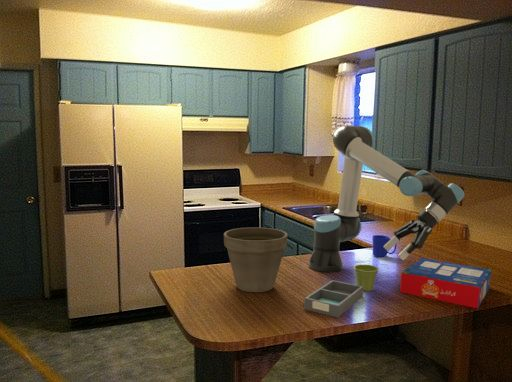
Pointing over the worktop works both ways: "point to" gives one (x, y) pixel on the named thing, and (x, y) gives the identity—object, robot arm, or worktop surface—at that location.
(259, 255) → the plant pot
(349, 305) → the tray
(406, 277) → the pasta box
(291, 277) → the worktop surface
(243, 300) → the worktop surface
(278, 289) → the worktop surface
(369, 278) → the plant pot
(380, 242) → the mug
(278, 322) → the worktop surface
